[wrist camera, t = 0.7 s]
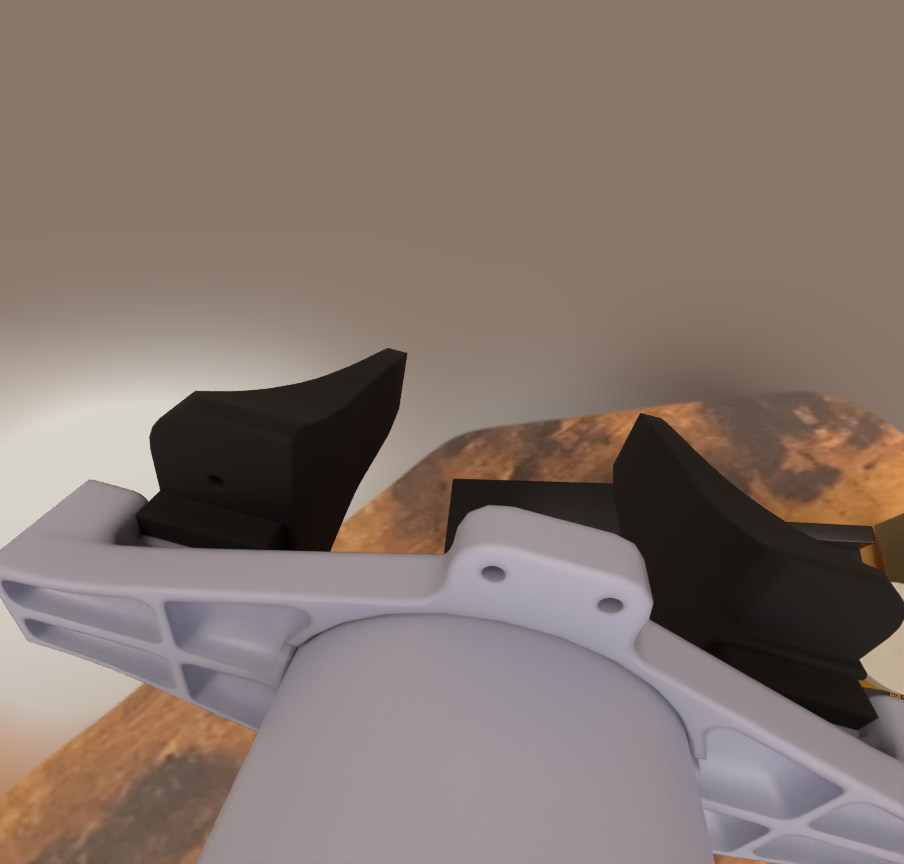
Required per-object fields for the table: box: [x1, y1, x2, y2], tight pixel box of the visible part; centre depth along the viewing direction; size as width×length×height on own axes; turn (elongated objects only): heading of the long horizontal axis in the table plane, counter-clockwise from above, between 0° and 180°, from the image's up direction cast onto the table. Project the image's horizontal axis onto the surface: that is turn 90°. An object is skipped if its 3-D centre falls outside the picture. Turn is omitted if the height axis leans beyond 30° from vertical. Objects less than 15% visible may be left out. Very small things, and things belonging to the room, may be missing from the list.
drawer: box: [787, 513, 904, 697], centre depth 21 cm, size 17×11×3 cm
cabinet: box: [444, 479, 621, 554], centre depth 24 cm, size 14×13×5 cm
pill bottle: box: [859, 582, 904, 695], centre depth 18 cm, size 4×4×7 cm
